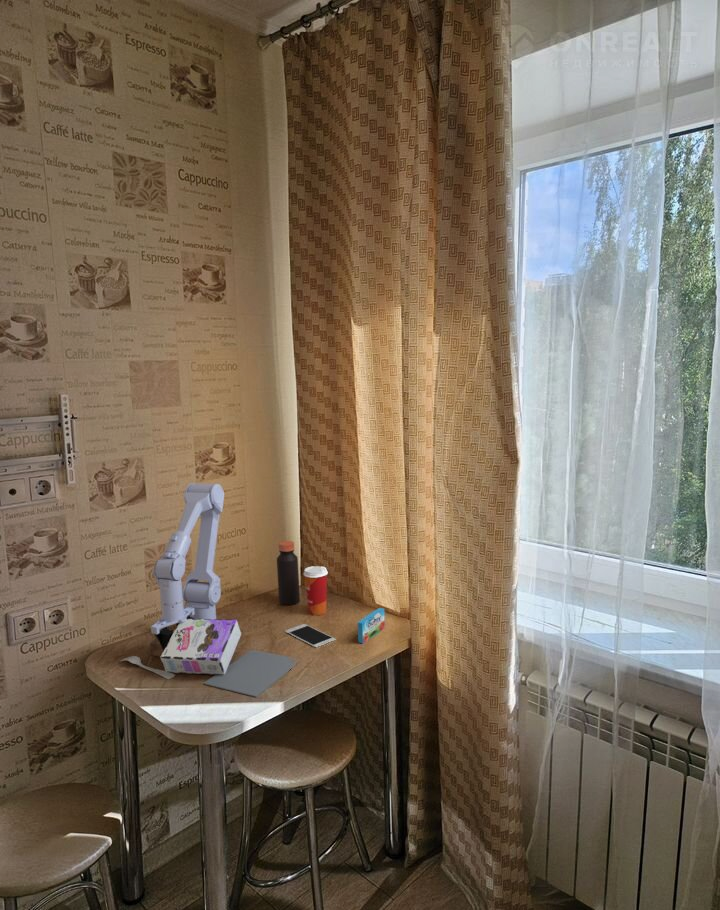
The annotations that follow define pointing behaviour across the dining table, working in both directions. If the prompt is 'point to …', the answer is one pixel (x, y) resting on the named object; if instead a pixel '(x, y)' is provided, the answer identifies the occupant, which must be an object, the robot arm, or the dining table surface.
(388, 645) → the dining table surface
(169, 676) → the fork
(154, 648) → the brown rectangular bar
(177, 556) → the robot arm
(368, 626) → the blue fruit print box
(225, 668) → the candy box
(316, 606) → the paper cup
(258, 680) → the slate mat
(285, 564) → the bottle
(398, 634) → the dining table surface
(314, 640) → the smartphone
